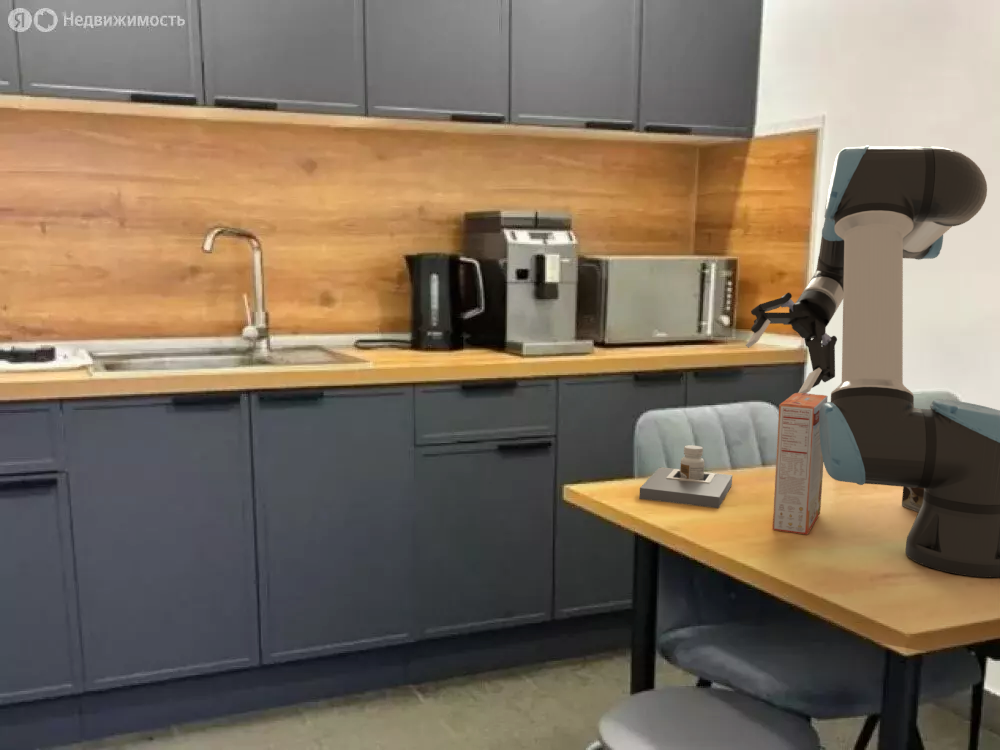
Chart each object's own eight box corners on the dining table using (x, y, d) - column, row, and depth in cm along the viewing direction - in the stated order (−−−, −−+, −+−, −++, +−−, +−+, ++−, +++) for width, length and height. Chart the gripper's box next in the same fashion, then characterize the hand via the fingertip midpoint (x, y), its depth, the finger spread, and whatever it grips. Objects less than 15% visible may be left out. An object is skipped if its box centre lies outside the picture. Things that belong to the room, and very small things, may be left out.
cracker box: (785, 510, 164) (793, 391, 161) (821, 515, 161) (830, 394, 159) (768, 530, 152) (777, 402, 149) (807, 536, 149) (817, 405, 146)
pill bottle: (676, 484, 180) (678, 444, 179) (698, 484, 181) (700, 444, 180) (683, 490, 176) (685, 449, 175) (706, 490, 176) (708, 449, 175)
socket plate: (718, 508, 164) (719, 495, 164) (639, 498, 169) (639, 486, 168) (731, 485, 181) (732, 474, 180) (659, 477, 185) (659, 466, 185)
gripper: (849, 353, 193) (811, 420, 181) (761, 270, 193) (717, 331, 181) (875, 338, 187) (838, 405, 175) (785, 252, 186) (741, 314, 174)
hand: (777, 368), depth 178 cm, fingers open, 13 cm apart
